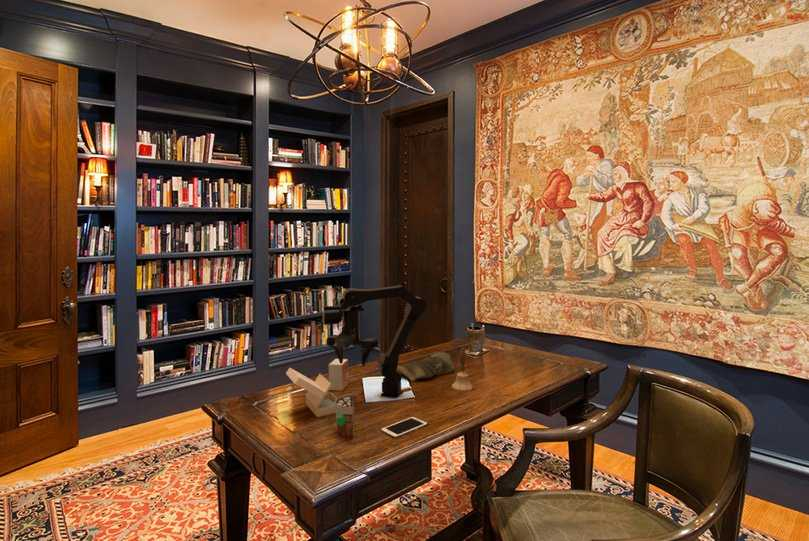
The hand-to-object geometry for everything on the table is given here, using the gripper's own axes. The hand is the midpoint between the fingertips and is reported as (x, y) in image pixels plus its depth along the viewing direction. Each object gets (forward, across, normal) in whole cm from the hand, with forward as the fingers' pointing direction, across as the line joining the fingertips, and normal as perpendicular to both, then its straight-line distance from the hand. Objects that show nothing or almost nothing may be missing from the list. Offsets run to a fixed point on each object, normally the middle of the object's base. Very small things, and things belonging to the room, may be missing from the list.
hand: (352, 364), depth 170 cm
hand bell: (+13, +35, +26) cm, 46 cm away
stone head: (+14, +15, +39) cm, 44 cm away
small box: (+13, -11, +9) cm, 19 cm away
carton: (+13, -5, -12) cm, 18 cm away
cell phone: (+14, +27, -16) cm, 34 cm away
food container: (+13, +10, -25) cm, 30 cm away
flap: (+6, -6, -13) cm, 16 cm away
